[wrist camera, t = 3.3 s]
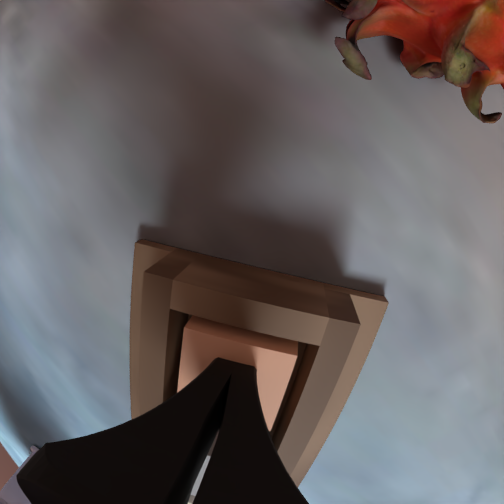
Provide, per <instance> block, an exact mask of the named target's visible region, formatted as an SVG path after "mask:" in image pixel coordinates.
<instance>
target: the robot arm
mask: <svg viewBox="0 0 504 504" xmlns="http://www.w3.org/2000/svg"><path fill="white" fill-rule="evenodd" d="M218 430H219V433H218ZM217 433H218V437H217V440H216V443H215V446H214V448H213V451H212V454H211V457H210V459H209V462H208V465H207V468H206V470H205V473H204V475H203V478H202V481H201V483H200V486H199V488H198V491H197V493H196V496H195V498H194V501H193V503H192V504H309V503H308V502H307V500H306V499H305V498H304V496H303V495H302V494H301V492H300V491H299V489H298V488H297V486H296V485H295V483H294V481H293V480H292V478H291V477H290V475H289V473H288V472H287V470H286V468H285V466H284V464H283V463H282V461H281V459H280V457H279V455H278V452H277V450H276V448H275V446H274V443H273V441H272V439H271V436H270V433H269V430H268V427H267V424H266V421H265V418H264V415H263V411H262V407H261V402H260V398H259V393H258V386H257V369H256V368H255V366H251V365H247V364H243V363H239V362H235V361H231V360H227V359H223V358H219V357H217V358H215V359H214V360H213V361H212V362H211V363H210V364H209V365H208V367H207V368H206V369H205V370H204V371H202V372H201V373H200V374H199V375H198V376H197V377H196V378H195V379H194V380H192V381H191V382H190V383H189V384H188V385H186V386H185V387H184V388H183V389H181V390H180V391H179V392H177V393H176V394H175V395H173V396H172V397H170V398H169V399H167V400H166V401H165V402H163V403H161V404H160V405H158V406H157V407H155V408H153V409H151V410H150V411H148V412H146V413H144V414H142V415H140V416H138V417H136V418H134V419H132V420H130V421H127V422H125V423H123V424H121V425H118V426H116V427H113V428H110V429H107V430H104V431H101V432H97V433H94V434H91V435H88V436H84V437H80V438H75V439H69V440H64V441H58V442H52V443H46V444H45V445H44V446H43V447H42V448H40V449H38V448H37V447H35V446H31V448H30V449H31V451H32V453H31V454H30V456H29V457H28V458H27V459H26V460H25V461H24V463H23V464H22V465H21V466H20V467H19V469H18V470H17V471H16V472H15V473H14V475H13V476H12V477H11V478H10V480H9V481H8V482H7V483H6V484H5V486H4V487H3V488H2V490H1V491H0V504H188V501H189V498H190V495H191V492H192V489H193V486H194V484H195V481H196V479H197V477H198V474H199V472H200V470H201V468H202V466H203V464H204V461H205V459H206V457H207V455H208V453H209V450H210V448H211V446H212V444H213V442H214V439H215V437H216V435H217Z"/></svg>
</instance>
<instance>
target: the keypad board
mask: <svg viewBox="0 0 504 504" xmlns="http://www.w3.org/2000/svg"><path fill="white" fill-rule="evenodd" d="M387 306H388V301H387V299H386V298H385V297H384V296H380V295H375V294H371V293H366V292H362V291H357V290H353V289H349V288H344V287H340V286H335V285H331V284H327V283H322V282H318V281H314V280H309V279H305V278H301V277H297V276H292V275H288V274H284V273H279V272H275V271H271V270H267V269H262V268H258V267H254V266H250V265H246V264H241V263H237V262H233V261H229V260H225V259H221V258H217V257H212V256H208V255H204V254H200V253H196V252H192V251H188V250H184V249H180V248H176V247H172V246H167V245H163V244H159V243H155V242H151V241H147V240H143V239H141V240H139V241H137V242H135V249H134V261H133V274H132V291H131V313H130V395H131V417H132V419H134V418H136V417H138V416H140V415H142V414H144V413H146V412H148V411H150V410H151V409H153V408H155V407H157V406H158V405H160V404H161V403H163V402H165V401H166V400H167V399H169V398H170V397H172V396H173V395H175V394H176V393H177V389H178V378H179V368H180V359H181V350H182V341H183V332H184V327H185V325H186V324H187V322H188V321H189V320H190V318H191V317H192V315H194V316H198V317H201V318H205V319H209V320H212V321H216V322H220V323H224V324H228V325H231V326H235V327H239V328H243V329H247V330H251V331H255V332H260V333H264V334H268V335H272V336H277V337H281V338H285V339H290V340H294V341H298V356H297V359H296V362H295V365H294V368H293V371H292V374H291V377H290V379H289V382H288V385H287V388H286V391H285V394H284V396H283V399H282V402H281V405H280V407H279V410H278V413H277V415H276V418H275V421H274V423H273V426H272V429H271V431H269V433H270V436H271V439H272V441H273V443H274V446H275V448H276V450H277V452H278V455H279V457H280V459H281V461H282V463H283V464H284V466H285V468H286V470H287V472H288V473H289V475H290V477H291V478H292V480H293V481H294V483H295V485H296V486H297V488H298V486H299V485H300V483H301V482H302V480H303V478H304V477H305V475H306V474H307V472H308V470H309V469H310V467H311V465H312V464H313V462H314V460H315V459H316V457H317V455H318V453H319V452H320V450H321V448H322V446H323V445H324V443H325V441H326V439H327V438H328V436H329V434H330V432H331V430H332V428H333V426H334V425H335V423H336V421H337V419H338V417H339V415H340V413H341V411H342V409H343V407H344V405H345V403H346V401H347V399H348V397H349V395H350V393H351V391H352V389H353V387H354V385H355V383H356V380H357V378H358V376H359V374H360V372H361V369H362V367H363V365H364V363H365V360H366V358H367V356H368V354H369V351H370V349H371V346H372V344H373V342H374V339H375V337H376V334H377V332H378V329H379V327H380V324H381V322H382V319H383V317H384V314H385V311H386V309H387Z"/></svg>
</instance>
